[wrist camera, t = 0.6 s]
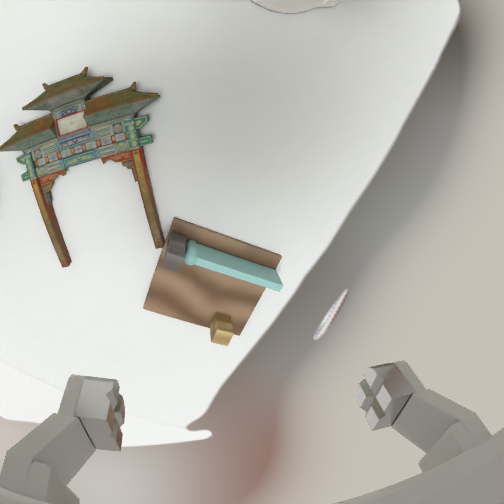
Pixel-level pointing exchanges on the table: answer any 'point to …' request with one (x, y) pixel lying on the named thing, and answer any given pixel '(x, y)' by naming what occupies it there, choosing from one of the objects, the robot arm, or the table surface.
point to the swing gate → (231, 265)
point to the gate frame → (205, 283)
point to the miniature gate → (83, 142)
